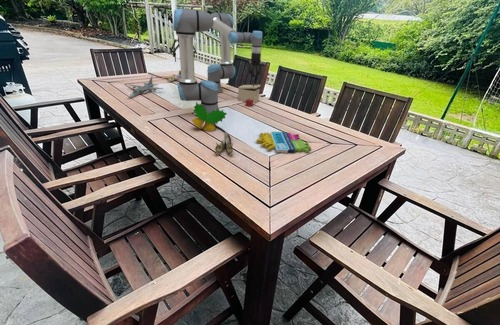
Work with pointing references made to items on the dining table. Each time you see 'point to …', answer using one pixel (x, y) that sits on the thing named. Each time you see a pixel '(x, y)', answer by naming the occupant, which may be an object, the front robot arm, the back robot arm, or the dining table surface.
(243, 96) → the chest
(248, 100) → the block
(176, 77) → the toy
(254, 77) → the lid
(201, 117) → the ornament
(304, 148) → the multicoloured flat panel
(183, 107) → the dining table surface
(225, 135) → the jawbone
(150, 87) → the airplane
